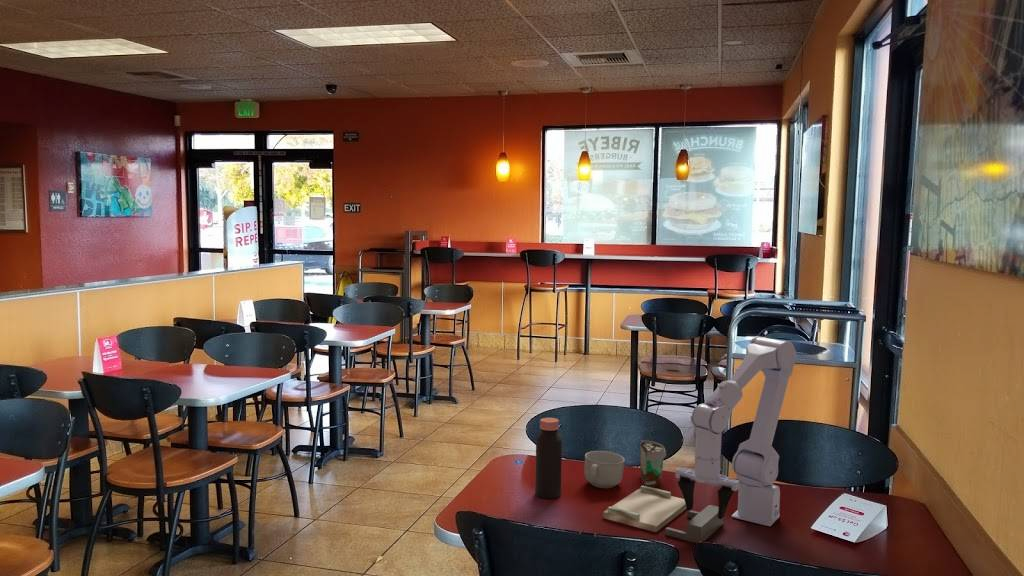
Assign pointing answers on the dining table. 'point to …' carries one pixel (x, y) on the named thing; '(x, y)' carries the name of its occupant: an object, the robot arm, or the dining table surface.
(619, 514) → the display stand
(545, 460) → the bottle
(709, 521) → the grey boxy piece
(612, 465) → the teacup
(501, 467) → the dining table surface
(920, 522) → the dining table surface
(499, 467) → the dining table surface
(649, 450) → the food container
